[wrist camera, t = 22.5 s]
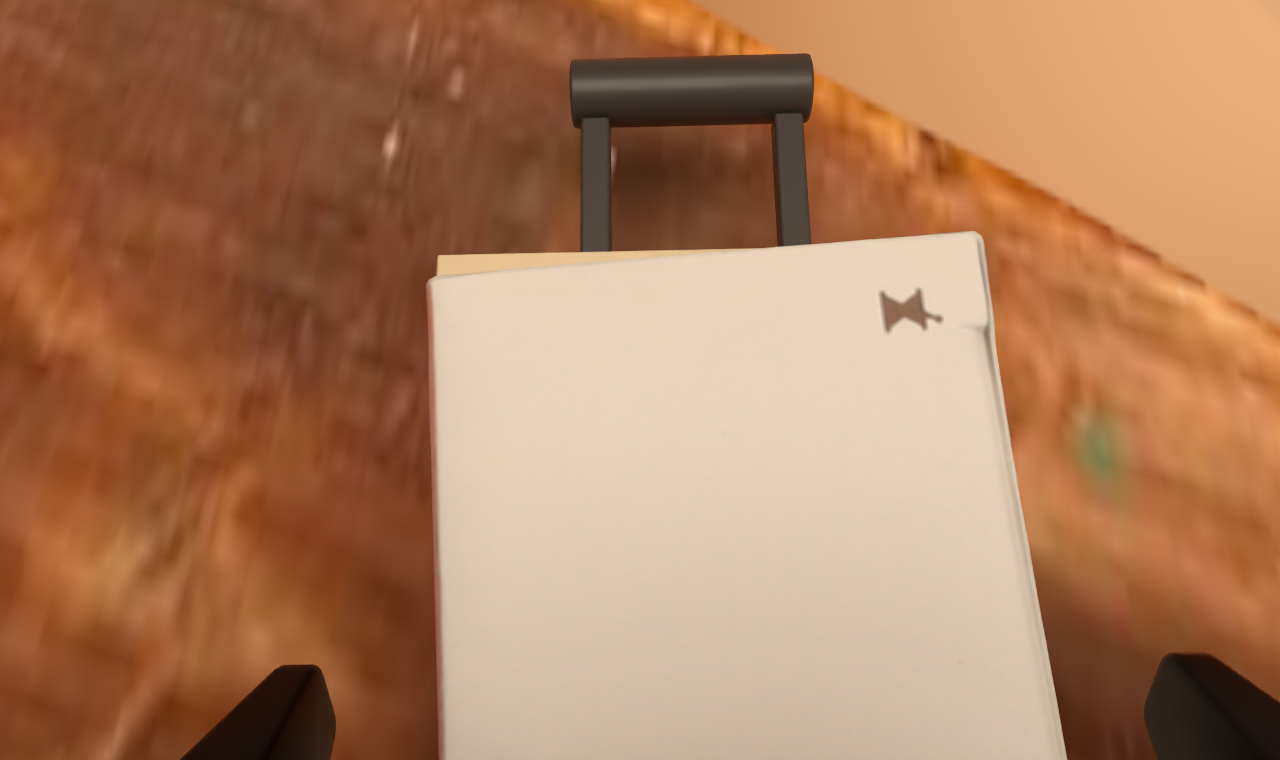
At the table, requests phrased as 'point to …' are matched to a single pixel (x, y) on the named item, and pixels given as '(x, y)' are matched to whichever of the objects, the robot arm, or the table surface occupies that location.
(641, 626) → the small box
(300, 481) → the table surface
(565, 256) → the drawer
